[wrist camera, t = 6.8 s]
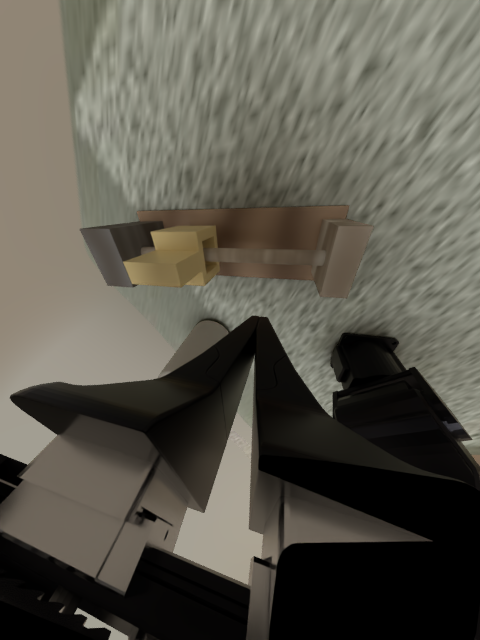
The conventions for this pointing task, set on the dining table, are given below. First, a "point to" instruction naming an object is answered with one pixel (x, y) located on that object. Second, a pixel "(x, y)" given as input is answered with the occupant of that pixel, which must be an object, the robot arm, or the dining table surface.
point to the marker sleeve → (176, 258)
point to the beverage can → (195, 344)
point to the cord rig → (248, 243)
